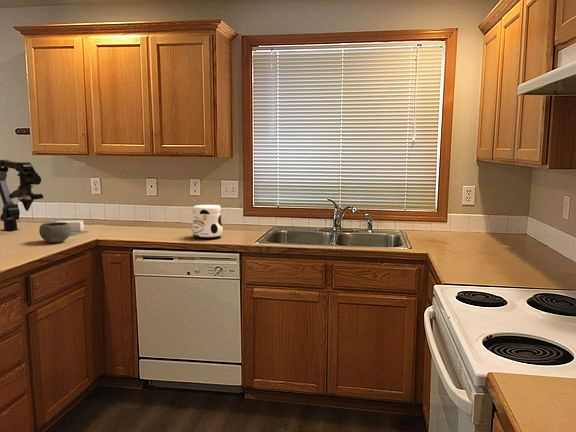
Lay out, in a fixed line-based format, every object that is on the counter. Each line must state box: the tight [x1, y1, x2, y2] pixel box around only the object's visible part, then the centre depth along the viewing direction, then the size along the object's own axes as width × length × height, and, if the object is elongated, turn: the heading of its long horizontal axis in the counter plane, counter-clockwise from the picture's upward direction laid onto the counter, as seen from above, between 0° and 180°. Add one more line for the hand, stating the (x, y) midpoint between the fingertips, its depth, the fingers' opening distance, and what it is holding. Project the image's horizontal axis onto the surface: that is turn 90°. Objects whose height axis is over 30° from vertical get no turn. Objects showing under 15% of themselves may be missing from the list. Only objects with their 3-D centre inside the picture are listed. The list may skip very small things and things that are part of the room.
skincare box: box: [56, 219, 85, 232], centre depth 295 cm, size 8×6×15 cm
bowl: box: [38, 221, 71, 244], centre depth 262 cm, size 15×15×10 cm
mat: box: [69, 230, 89, 236], centre depth 291 cm, size 16×14×1 cm
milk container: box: [191, 204, 224, 239], centre depth 281 cm, size 17×17×18 cm
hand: (27, 210), depth 288 cm, fingers closed
